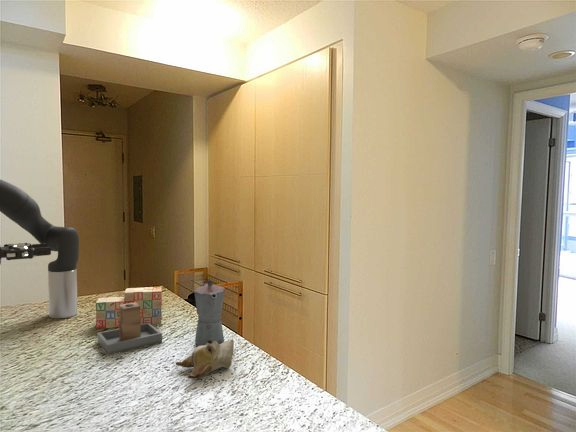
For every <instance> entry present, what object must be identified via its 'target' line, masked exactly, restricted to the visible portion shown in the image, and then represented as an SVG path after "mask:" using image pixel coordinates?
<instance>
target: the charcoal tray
mask: <svg viewBox="0 0 576 432" xmlns="http://www.w3.org/2000/svg"><path fill="white" fill-rule="evenodd" d="M96 339H97V344H98V343H99V344H98V345H99V346H100V348H101V349H102V351H103V352H104V353H105V354H106V355H107V356H111V355H116V354H119V352H120V353H124V352H127V351H128V350H129V351H133V350H137V349H140V348H141V349H142V348H145V347H149V346H154V345H158V344H163V333H162V332H161V331H160V330H159V329H157V328H156V327H155V325H151V324H150V323H144V324H141V337H138V338H134V339H129V340H125V341H121V340H120V339H119V328H114V329H111V330H110V329H109V330H104V331H100V332H97V338H96ZM132 349H133V350H132Z"/></svg>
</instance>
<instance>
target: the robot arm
mask: <svg viewBox="0 0 576 432" xmlns="http://www.w3.org/2000/svg"><path fill="white" fill-rule="evenodd" d="M0 213H1V214H3V215H4V216H6V217H7V218H8V219H9V220H11V221H13V223H15V224H17V225H18V226H19V227H20V228H22V229H23V230H24V231H26V232H28V233H29V234H30V235H31V236H32V237H33V238H34V239H35V240H36V241H37V242H38V243H33V244H32V243H28V242H24V243H21V242H20V243H8V244H7V243H5V244H3V246H0V265H1V263H2V259H6V261H11V260H14V261H15V260H24V259H25V260H26V259H29V260H32V259H34V258H36V257H43V256H51V254H52V252H57V258H56V259H55V260H52V261H49V263H48V264H47V277H48V278H47V279H48V317H49V318H51V319H66V318H70V317H74V316H76V315H78V277H77V276H78V275H77V274H78V273H77V272H78V271H77V267H78V266H77V265H78V262H79V258H80V254H79V253H80V236H79V233H78V231H77V230H76V228H74V227H68V226H56V225H54V224H52V223H51V222H49V221H48V220H46V218H44V217H43V215H42V212H41V209H40V206H39V204H38V202H37V201H36V200H35V199H34V198H33V197H31V196H30V195H29V194H28V193H26V191H24V190H22V189H21V188H19V187H18V186H16V185H14V184H12V183H10V182H8V181H5V180H3V179H0Z"/></svg>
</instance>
